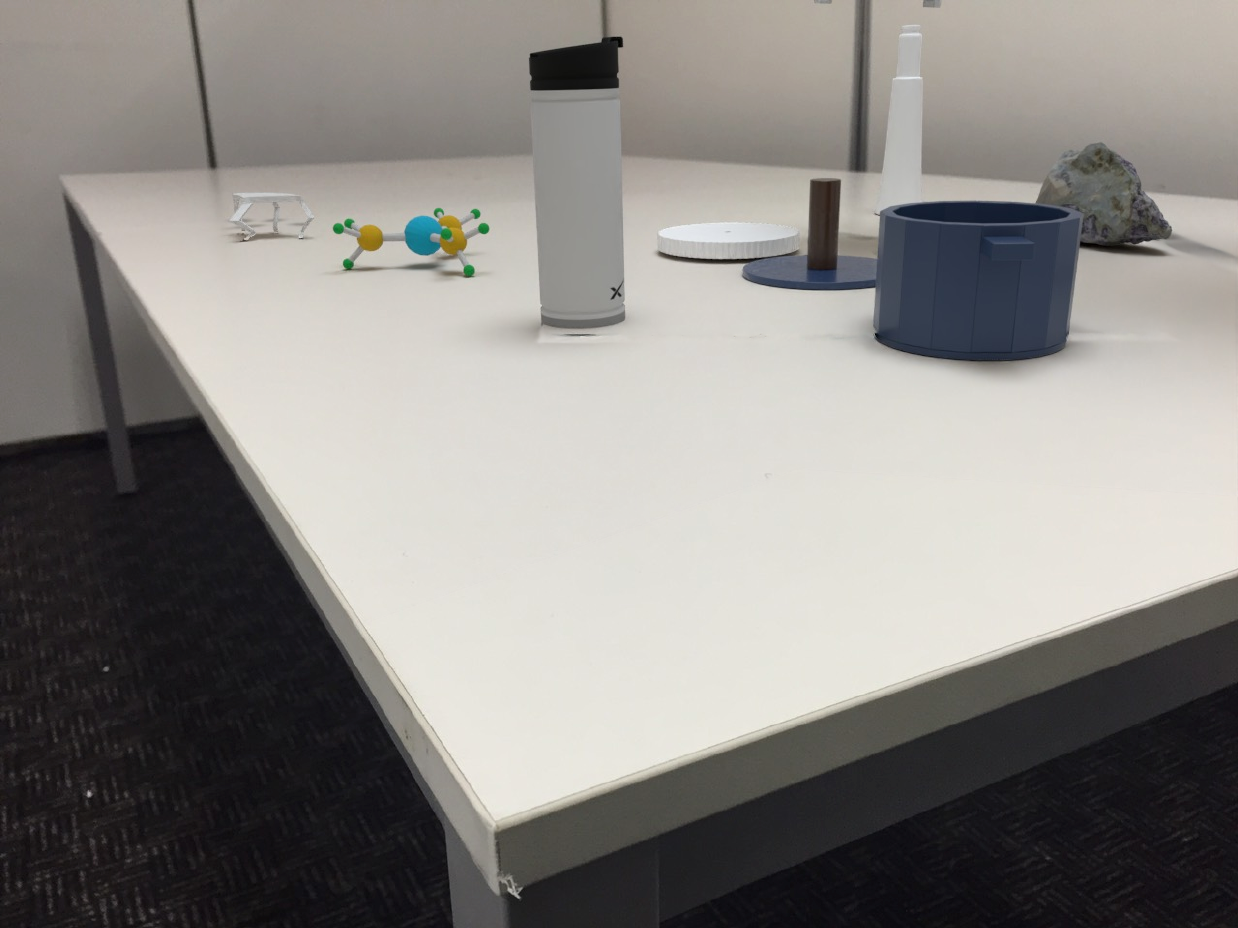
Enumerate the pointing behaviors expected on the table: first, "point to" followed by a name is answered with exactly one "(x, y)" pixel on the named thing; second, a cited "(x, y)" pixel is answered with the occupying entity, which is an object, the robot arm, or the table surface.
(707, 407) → the table surface
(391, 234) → the molecular model
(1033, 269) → the tin
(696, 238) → the plastic lid
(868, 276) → the tin lid
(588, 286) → the travel mug
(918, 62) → the cosmetic bottle
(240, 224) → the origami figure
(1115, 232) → the mineral rock
